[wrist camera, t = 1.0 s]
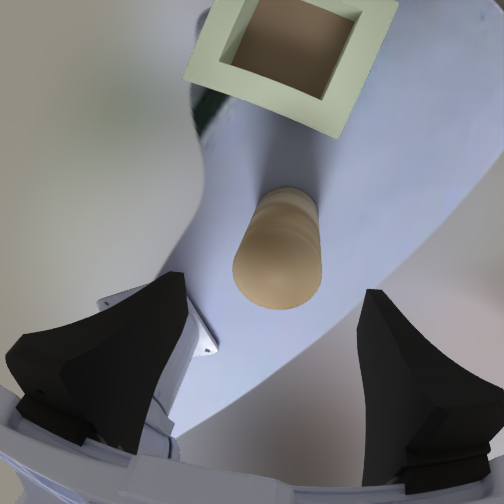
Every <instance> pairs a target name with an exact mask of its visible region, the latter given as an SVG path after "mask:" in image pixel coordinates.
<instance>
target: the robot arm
mask: <svg viewBox="0 0 504 504" xmlns="http://www.w3.org/2000/svg"><path fill="white" fill-rule="evenodd" d="M96 306H97V307H98V309H99V311H100V312H99V313H97V314H95V315H93V316H90V317H88V318H85V319H83V320H80V321H77V322H74V323H72V324H68V325H65V326H62V327H58V328H54V329H50V330H46V331H40V332H35V333H29V334H23V335H22V336H21V337H20V338H19V339H18V341H17V342H16V343H15V344H14V345H13V347H12V348H11V349H10V350H9V351H8V352H7V354H6V355H5V356H6V357H5V358H6V364H7V366H8V368H9V370H10V372H11V374H12V375H13V376H14V378H15V380H16V381H17V383H18V384H19V386H20V387H21V389H22V390H23V392H24V393H25V395H24V396H23V398H22V399H20V398H19V397H18V396H17V395H16V394H14V393H13V392H11V391H9V390H7V389H6V388H4V387H2V386H1V385H0V459H1V460H2V461H4V462H5V463H6V464H8V465H9V466H10V467H12V468H13V469H15V471H16V473H17V475H18V477H19V479H20V481H21V483H22V485H23V487H24V490H23V492H22V494H21V495H20V497H19V498H18V500H17V502H16V503H15V504H504V455H502V456H499V457H496V458H494V459H492V460H490V461H488V457H487V454H488V453H489V452H490V451H491V448H490V444H489V441H491V440H492V439H493V437H494V436H495V435H496V434H497V433H498V432H499V431H500V430H501V429H502V428H503V427H504V390H503V389H502V388H500V387H498V386H496V385H494V384H491V383H489V382H487V381H485V380H483V379H481V378H479V377H478V376H476V375H474V374H472V373H470V372H469V371H467V370H466V369H464V368H463V367H461V366H459V365H458V364H457V363H455V362H454V361H453V360H451V359H450V358H448V357H447V356H446V355H444V354H443V353H442V352H441V351H440V350H438V349H437V348H436V347H435V346H434V345H432V344H431V343H430V342H429V341H428V340H427V339H426V338H425V337H424V336H423V335H422V334H421V333H420V332H419V331H418V330H417V329H416V328H415V327H414V326H413V325H412V324H411V323H410V322H409V321H408V320H407V318H406V317H405V316H404V315H403V314H402V313H401V312H400V310H399V309H398V308H397V307H396V306H395V305H394V303H393V302H392V301H391V300H390V299H389V297H387V295H386V294H385V293H384V292H383V291H382V290H377V289H367V290H366V295H365V299H364V303H363V307H362V311H361V315H360V319H359V323H358V326H357V349H358V356H359V363H360V369H361V375H362V381H363V388H364V394H365V404H366V440H365V441H366V442H365V458H364V471H363V479H362V487H305V486H304V487H303V486H289V485H288V484H285V483H283V482H281V481H278V480H276V479H272V478H267V477H262V476H257V475H250V474H243V473H236V472H230V471H224V470H218V469H214V468H208V467H203V466H199V465H194V464H189V463H185V462H181V461H180V453H179V452H180V449H179V444H178V442H177V440H176V439H175V438H174V437H172V436H170V435H171V432H172V430H173V427H174V424H175V423H174V422H173V421H171V420H170V419H169V418H168V415H169V413H170V410H171V408H172V405H173V403H174V400H175V398H176V395H177V393H178V391H179V388H180V386H181V383H182V381H183V378H184V376H185V374H186V371H187V369H188V366H189V364H190V361H191V359H192V357H196V356H202V355H208V354H214V353H217V352H218V350H219V346H218V345H217V343H216V342H215V340H214V338H213V337H212V335H211V334H210V332H209V331H208V329H207V327H206V326H205V324H204V323H203V321H202V319H201V318H200V316H199V315H198V313H197V311H196V310H195V308H194V306H193V305H192V303H191V302H190V300H189V298H188V297H187V295H186V287H185V279H184V273H181V272H172V271H170V272H168V273H166V274H164V275H162V276H161V277H159V278H158V279H156V280H155V281H153V282H151V283H149V284H146V285H143V286H139V287H136V288H133V289H130V290H127V291H124V292H121V293H117V294H114V295H111V296H108V297H105V298H102V299H99V300H98V301H97V302H96ZM208 349H209V350H208Z"/></svg>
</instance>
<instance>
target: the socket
mask: <svg viewBox="0 0 504 504" xmlns="http://www.w3.org/2000/svg"><path fill="white" fill-rule="evenodd" d="M398 6H399V3H398V2H396V1H394V0H215V1H214V3H213V5H212V7H211V10H210V12H209V14H208V16H207V19H206V21H205V23H204V25H203V28H202V30H201V33H200V35H199V37H198V40H197V42H196V45H195V47H194V50H193V52H192V55H191V57H190V60H189V63H188V65H187V68H186V71H185V73H184V76H183V79H182V80H185V81H188V82H192V83H195V84H198V85H201V86H204V87H207V88H210V89H213V90H216V91H219V92H222V93H225V94H228V95H231V96H234V97H236V98H239V99H242V100H245V101H247V102H250V103H253V104H255V105H258V106H260V107H263V108H266V109H268V110H271V111H273V112H276V113H278V114H280V115H283V116H285V117H288V118H290V119H292V120H295V121H297V122H299V123H301V124H304V125H306V126H308V127H310V128H313V129H315V130H317V131H319V132H321V133H324V134H326V135H328V136H330V137H332V138H334V139H336V140H338V138H339V136H340V134H341V132H342V130H343V128H344V125H345V123H346V121H347V119H348V117H349V115H350V113H351V111H352V108H353V106H354V104H355V102H356V100H357V98H358V95H359V93H360V91H361V89H362V87H363V85H364V82H365V80H366V78H367V76H368V74H369V71H370V69H371V67H372V65H373V63H374V60H375V58H376V56H377V54H378V51H379V49H380V47H381V45H382V42H383V40H384V38H385V36H386V33H387V31H388V29H389V27H390V24H391V22H392V20H393V17H394V15H395V13H396V10H397V8H398Z"/></svg>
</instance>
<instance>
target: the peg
mask: <svg viewBox="0 0 504 504" xmlns="http://www.w3.org/2000/svg"><path fill="white" fill-rule="evenodd" d="M232 271H233V277H234V281H235V283H236V285H237V287H238V289H239V290H240V291H241V293H242V294H243V295H244V296H245V297H246V298H247V299H249V300H250V301H251V302H253V303H255V304H257V305H259V306H261V307H264V308H268V309H274V310H285V309H291V308H295V307H298V306H300V305H302V304H304V303H305V302H307V301H308V300H309V299H311V297H312V296H313V295H314V294H315V293H316V291H317V290H318V288H319V286H320V283H321V279H322V263H321V247H320V233H319V220H318V211H317V208H316V205H315V203H314V202H313V200H312V199H311V198H310V197H309V196H308V195H307V194H306V193H305V192H303V191H301V190H299V189H296V188H293V187H279V188H276V189H273V190H271V191H269V192H268V193H266V194H265V195H264V196H263V197H262V198H261V200H260V201H259V203H258V205H257V208H256V210H255V212H254V214H253V217H252V219H251V221H250V223H249V226H248V228H247V230H246V232H245V235H244V237H243V239H242V241H241V244H240V246H239V248H238V251H237V253H236V255H235V258H234V261H233V269H232Z"/></svg>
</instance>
